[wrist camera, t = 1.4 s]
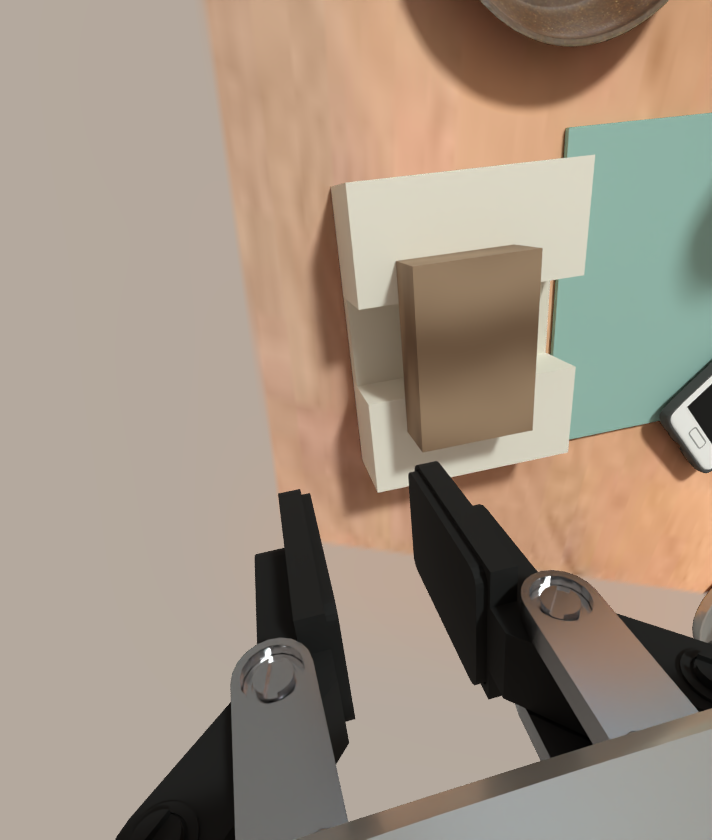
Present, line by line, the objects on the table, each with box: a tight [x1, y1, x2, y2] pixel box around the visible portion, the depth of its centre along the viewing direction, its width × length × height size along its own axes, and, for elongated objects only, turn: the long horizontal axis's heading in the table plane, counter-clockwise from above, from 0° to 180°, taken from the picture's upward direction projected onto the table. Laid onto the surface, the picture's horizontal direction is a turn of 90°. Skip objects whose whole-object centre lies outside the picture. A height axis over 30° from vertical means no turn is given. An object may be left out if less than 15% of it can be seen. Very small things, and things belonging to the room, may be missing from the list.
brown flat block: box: [396, 244, 543, 452], centre depth 24 cm, size 9×6×2 cm, turn 6°
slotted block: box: [331, 155, 595, 493], centre depth 27 cm, size 16×12×4 cm
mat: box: [550, 113, 712, 440], centre depth 30 cm, size 19×14×1 cm
